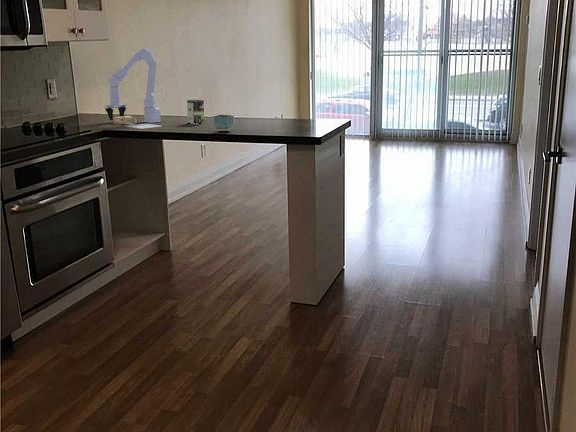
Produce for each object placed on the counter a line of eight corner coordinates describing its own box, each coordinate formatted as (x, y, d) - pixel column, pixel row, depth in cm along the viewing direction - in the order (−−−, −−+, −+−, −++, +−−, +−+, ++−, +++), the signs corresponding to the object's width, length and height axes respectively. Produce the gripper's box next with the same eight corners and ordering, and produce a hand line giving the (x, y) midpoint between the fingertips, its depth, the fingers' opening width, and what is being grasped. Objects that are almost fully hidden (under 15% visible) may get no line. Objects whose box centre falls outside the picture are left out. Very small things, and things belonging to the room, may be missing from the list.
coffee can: (206, 122, 376) (206, 100, 372) (201, 124, 366) (200, 101, 362) (191, 122, 378) (190, 99, 374) (185, 124, 368) (184, 100, 364)
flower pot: (234, 131, 342) (234, 115, 340) (227, 133, 334) (227, 117, 332) (220, 130, 345) (219, 114, 342) (213, 132, 337) (213, 116, 334)
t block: (129, 122, 373) (129, 115, 372) (142, 123, 366) (141, 117, 365) (113, 123, 364) (113, 117, 363) (125, 125, 357) (125, 118, 356)
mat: (145, 124, 367) (145, 123, 367) (163, 126, 358) (163, 126, 358) (124, 126, 355) (124, 126, 355) (141, 129, 346) (141, 128, 346)
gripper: (120, 96, 375) (122, 117, 379) (101, 97, 364) (102, 119, 368) (127, 96, 371) (129, 118, 375) (108, 98, 360) (109, 121, 364)
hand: (116, 119), depth 371 cm, fingers open, 7 cm apart
